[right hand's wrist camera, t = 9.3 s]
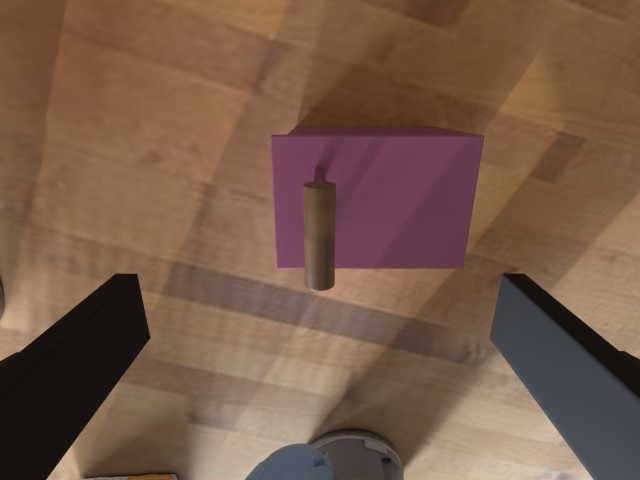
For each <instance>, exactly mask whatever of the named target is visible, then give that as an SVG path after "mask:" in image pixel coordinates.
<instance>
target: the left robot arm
mask: <svg viewBox="0 0 640 480" xmlns="http://www.w3.org/2000/svg"><path fill="white" fill-rule="evenodd" d="M245 480H404V478H403V467H402V463H401V459H400V455H399V453H398V451H397V450H396V448H395V447H394V446H393V445H392V444H391V443H390V442H389V441H388V440H386V439H385V438H383V437H381V436H379V435H377V434H375V433H372V432H368V431H364V430H354V429H348V430H339V431H334V432H330V433H327V434H325V435H322V436H320V437H318V438H317V439H315V440H314V441H312V442H311V443H310V444H309V445H308V444H292V445H288V446H285V447H283V448H281V449H279V450H277V451H275V452H273V453H272V454H270V455H269V457H267V458H266V459H265V460H264V461H263V462H260V463H259V464H258V465H257V466H256V467H255V468H254V469H253V470H252V472H251V473H250V474H249V475H248V476H247V478H246V479H245Z"/></svg>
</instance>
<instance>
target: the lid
mask: <svg viewBox="0 0 640 480" xmlns="http://www.w3.org/2000/svg"><path fill="white" fill-rule="evenodd" d="M483 140H484V136H481V135H272V136H271V158H272V178H273V199H274V220H275V240H276V261H277V268H278V269H305V286H306V287H307V288H309V289H311V290H315V291H324V290H328V289H331V288H332V287H333V286H334V281H335V269H463V265H464V258H465V252H466V246H467V240H468V234H469V227H470V221H471V215H472V209H473V202H474V196H475V190H476V184H477V177H478V171H479V165H480V159H481V152H482V146H483Z"/></svg>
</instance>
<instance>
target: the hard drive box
mask: <svg viewBox="0 0 640 480" xmlns="http://www.w3.org/2000/svg"><path fill="white" fill-rule="evenodd" d="M77 480H178V479H177V477H176V475H175V474H166V475H157V474H148V475H143V476H125V477H96V478H84V479H77Z"/></svg>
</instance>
